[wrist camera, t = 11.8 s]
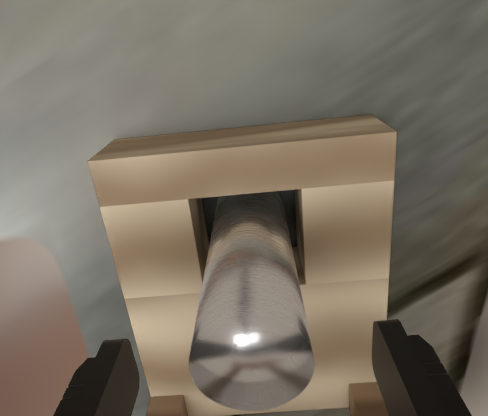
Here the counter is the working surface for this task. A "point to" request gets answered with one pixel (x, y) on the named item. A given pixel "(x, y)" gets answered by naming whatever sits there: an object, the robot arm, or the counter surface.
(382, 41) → the counter surface
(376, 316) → the socket block
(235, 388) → the peg
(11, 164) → the counter surface
